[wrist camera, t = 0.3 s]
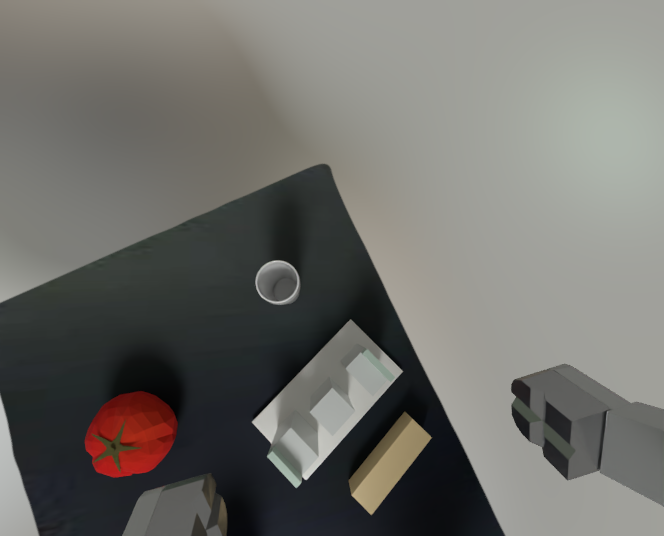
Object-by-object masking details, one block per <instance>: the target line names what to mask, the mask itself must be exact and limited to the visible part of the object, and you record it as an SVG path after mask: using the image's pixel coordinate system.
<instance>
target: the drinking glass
mask: <svg viewBox="0 0 664 536" xmlns="http://www.w3.org/2000/svg"><path fill="white" fill-rule="evenodd" d="M256 288H257V291H258V293H259V294H260V296H261V297H262V298H263V299H265V300H266V301H267V302H269V303H272V304H275V305H285V304H290V303H292V302H294V301H295V300H296V299H297V298H298V296H299V292H300V288H301V281H300V277H299V274H298V272H297V271H296V269H295V268H294V267H293V266H292V265H291V264H289V263H288V262H285V261H281V260H275V261H271V262H268V263H266V264H265V265H263V266H262V267H261V269H260V270H259V271H258V273H257V276H256Z"/></svg>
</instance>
